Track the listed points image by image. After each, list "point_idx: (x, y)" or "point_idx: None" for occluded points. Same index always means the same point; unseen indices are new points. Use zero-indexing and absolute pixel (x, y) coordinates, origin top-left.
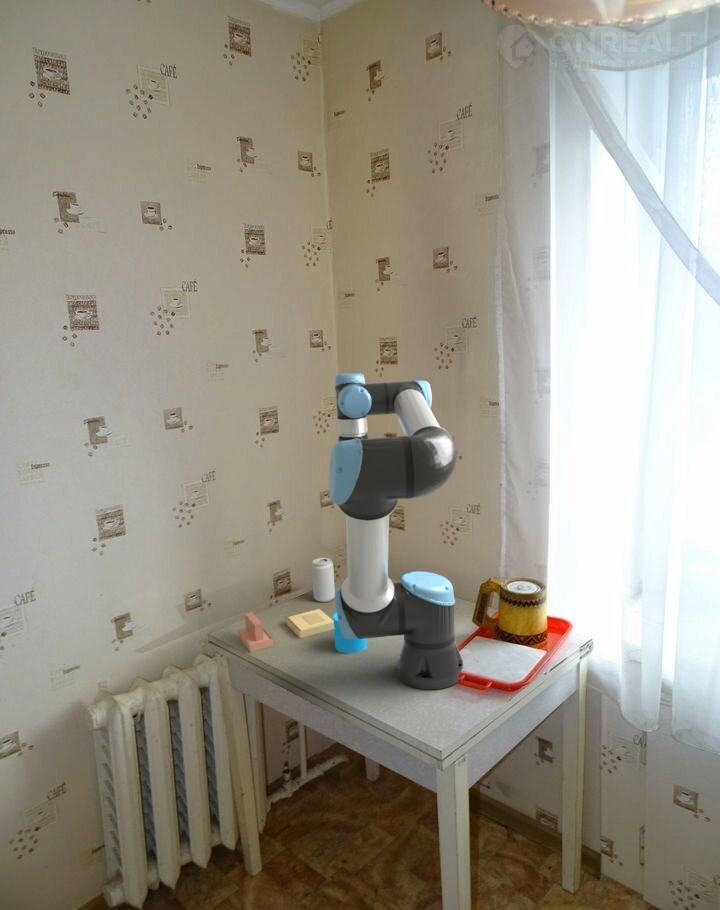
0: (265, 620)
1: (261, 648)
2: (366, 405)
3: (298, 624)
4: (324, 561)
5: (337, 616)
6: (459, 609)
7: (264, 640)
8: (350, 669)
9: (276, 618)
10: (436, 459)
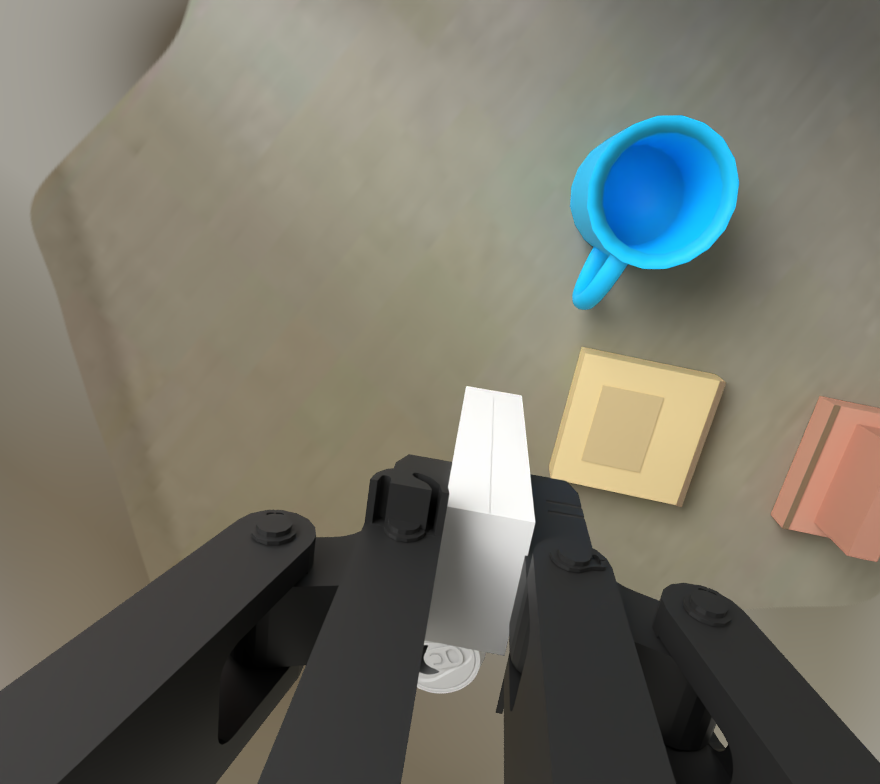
0: (701, 566)
1: (862, 405)
2: None
3: (690, 430)
4: (431, 649)
5: (689, 242)
6: (133, 134)
7: (861, 413)
8: (766, 37)
9: (666, 552)
10: None
